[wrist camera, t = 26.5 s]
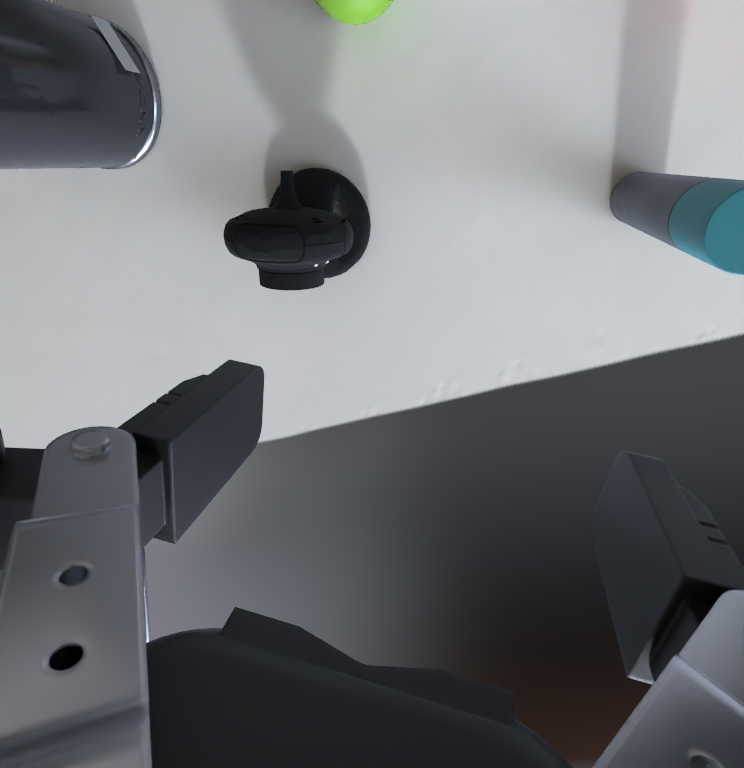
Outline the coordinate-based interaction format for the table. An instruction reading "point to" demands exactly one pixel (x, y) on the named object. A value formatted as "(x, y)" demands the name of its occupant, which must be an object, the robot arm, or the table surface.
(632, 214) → the marker pen
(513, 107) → the table surface
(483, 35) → the table surface
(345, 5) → the snail figurine
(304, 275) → the webcam
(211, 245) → the table surface
